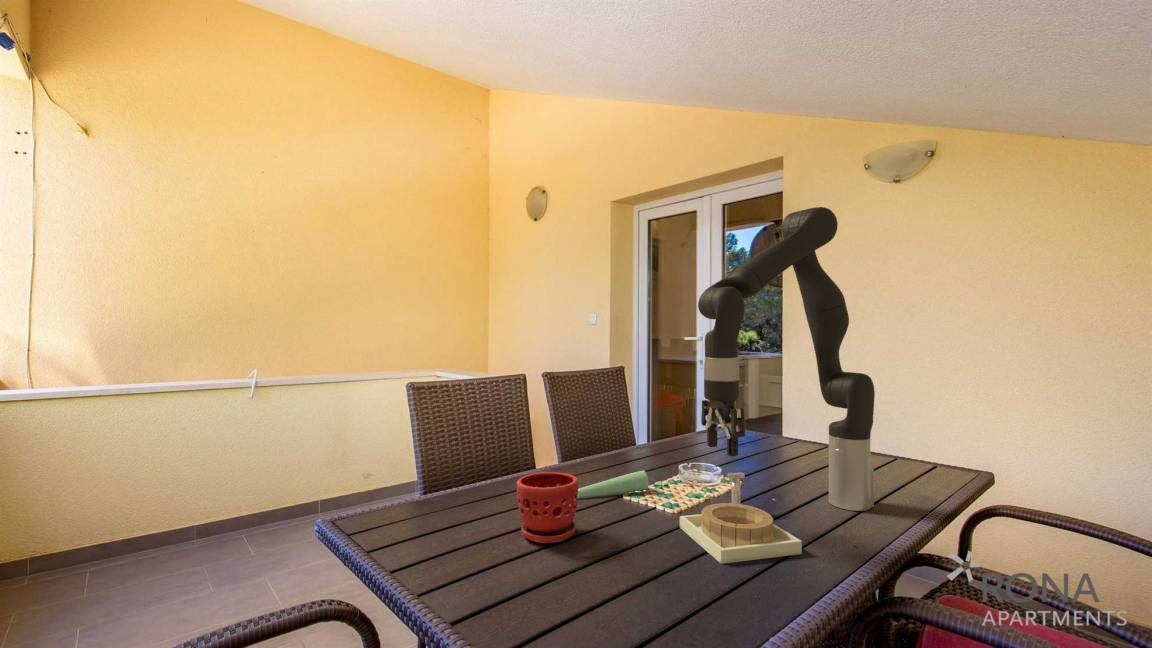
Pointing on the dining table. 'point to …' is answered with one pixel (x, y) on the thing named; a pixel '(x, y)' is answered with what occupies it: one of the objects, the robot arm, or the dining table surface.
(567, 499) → the plant pot
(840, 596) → the dining table surface
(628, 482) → the mint green cone
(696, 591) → the dining table surface
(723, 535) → the wooden ring
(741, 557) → the tray
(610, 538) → the dining table surface
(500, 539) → the dining table surface
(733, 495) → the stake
